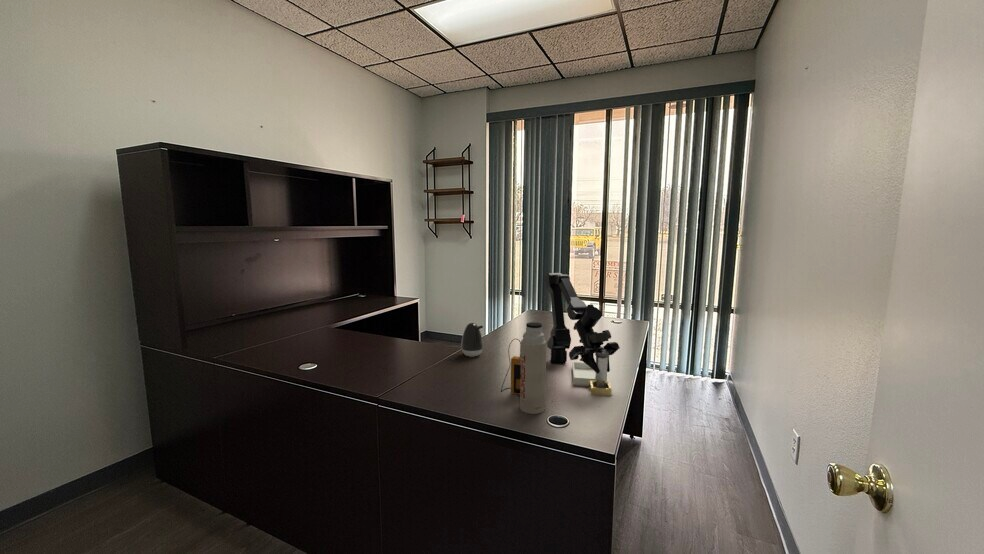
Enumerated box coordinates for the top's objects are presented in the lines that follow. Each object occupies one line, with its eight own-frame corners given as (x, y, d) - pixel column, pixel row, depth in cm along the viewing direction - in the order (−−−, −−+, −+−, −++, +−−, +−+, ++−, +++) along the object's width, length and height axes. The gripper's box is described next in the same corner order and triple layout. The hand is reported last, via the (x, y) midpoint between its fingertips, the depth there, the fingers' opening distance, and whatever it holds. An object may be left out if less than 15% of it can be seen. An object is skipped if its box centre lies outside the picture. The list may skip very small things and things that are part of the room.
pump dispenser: (478, 359, 174) (478, 326, 172) (457, 357, 178) (457, 324, 176) (486, 353, 183) (487, 321, 182) (466, 350, 187) (466, 319, 185)
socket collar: (591, 394, 137) (591, 387, 137) (589, 386, 144) (589, 380, 144) (611, 395, 136) (611, 389, 136) (608, 388, 143) (609, 381, 143)
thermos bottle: (522, 414, 122) (523, 326, 119) (518, 403, 130) (519, 320, 127) (547, 413, 123) (549, 326, 120) (541, 402, 131) (543, 320, 127)
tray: (573, 385, 146) (574, 377, 145) (572, 368, 163) (572, 361, 163) (602, 387, 144) (602, 379, 143) (597, 370, 162) (597, 363, 161)
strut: (594, 392, 138) (596, 354, 136) (592, 387, 143) (594, 350, 141) (608, 393, 138) (610, 354, 136) (605, 387, 142) (607, 350, 141)
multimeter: (546, 387, 143) (547, 334, 141) (541, 398, 134) (542, 341, 131) (508, 382, 148) (508, 331, 146) (500, 392, 138) (500, 337, 136)
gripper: (574, 324, 138) (591, 365, 129) (617, 320, 144) (637, 358, 135) (561, 340, 146) (577, 379, 137) (603, 335, 153) (620, 372, 144)
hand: (603, 372), depth 138 cm, fingers closed on strut, 4 cm apart
